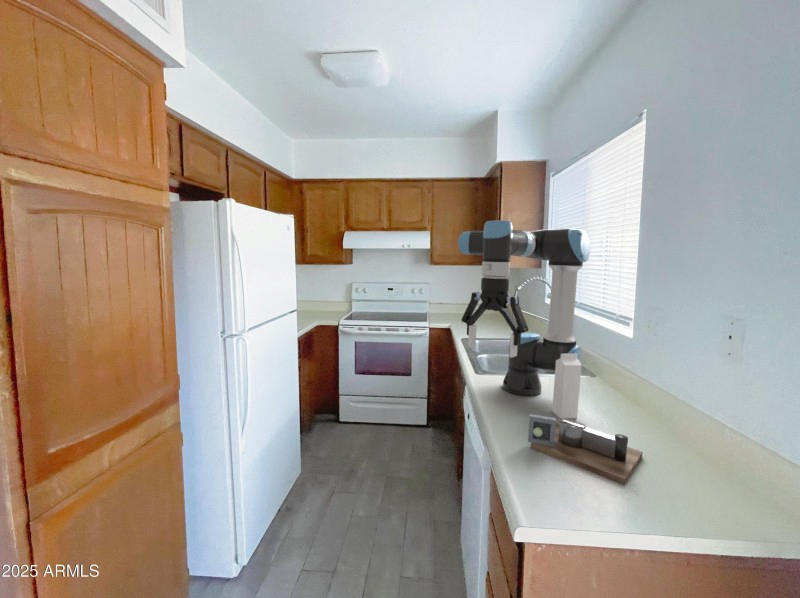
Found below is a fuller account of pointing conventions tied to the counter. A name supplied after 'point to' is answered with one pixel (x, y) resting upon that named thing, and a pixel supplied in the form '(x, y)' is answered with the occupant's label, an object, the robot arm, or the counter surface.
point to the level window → (541, 430)
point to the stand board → (592, 459)
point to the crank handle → (592, 439)
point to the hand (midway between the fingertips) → (491, 351)
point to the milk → (566, 386)
